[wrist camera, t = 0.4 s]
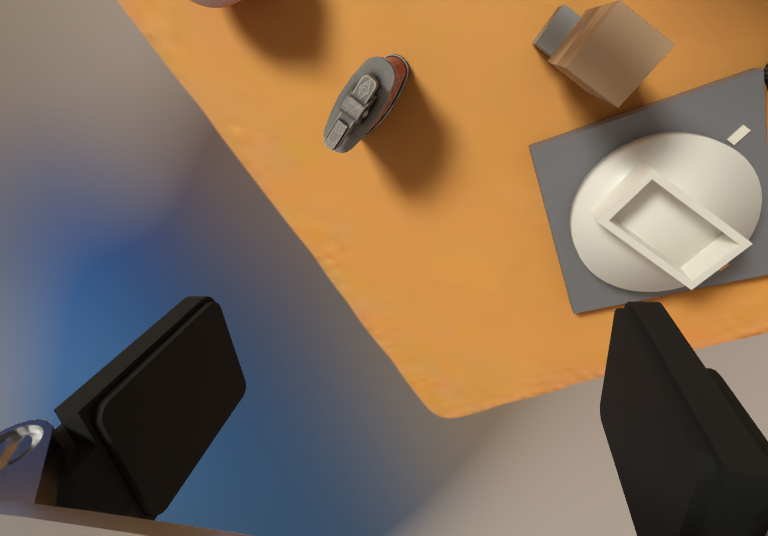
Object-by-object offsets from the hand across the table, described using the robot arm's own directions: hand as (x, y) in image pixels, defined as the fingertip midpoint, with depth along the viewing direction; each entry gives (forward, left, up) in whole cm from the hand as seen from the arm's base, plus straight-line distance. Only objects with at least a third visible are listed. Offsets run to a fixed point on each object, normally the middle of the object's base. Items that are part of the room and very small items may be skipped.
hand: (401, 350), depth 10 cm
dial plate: (+13, +13, -33) cm, 38 cm away
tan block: (-2, +10, -33) cm, 35 cm away
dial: (+13, +13, -32) cm, 37 cm away
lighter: (-5, -7, -34) cm, 35 cm away
